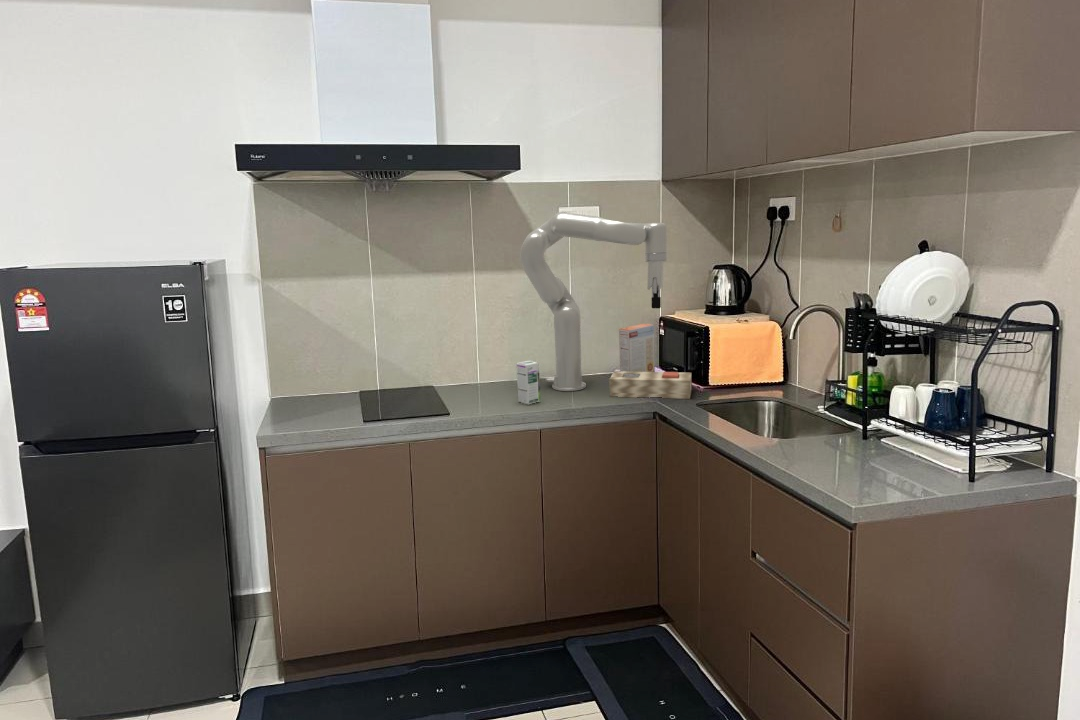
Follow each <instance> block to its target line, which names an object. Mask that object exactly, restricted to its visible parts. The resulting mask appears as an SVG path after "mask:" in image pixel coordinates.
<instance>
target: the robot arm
mask: <svg viewBox="0 0 1080 720" xmlns="http://www.w3.org/2000/svg"><path fill="white" fill-rule="evenodd" d="M565 237H566V238H573V239H581V240H590V241H595V242H604V243H605V242H607V243H613V244H622V245H629V246H639V245H641V244H643V243H644V244H645V245H644V246H645V251H644V252H645V257H644V258H645V263H647V285H646V286H647V291H648V290H649V291H650V290H651V308H652V309H661V308H662V297H661V289H662V288H663V284H664V263H666V262H667V252H668V251H667V224H666V223H664V222H648V223H643V222H642V223H640V222H623V221H617V220H612V219H611V220H610V219H606V218H604V217H602V216H596V215H595V216H594V215H586V214H579V213H573V212H572V213H571V212H566V211H559V212H557V213H556V214H554V215H553V216H552V217H550V218H549V219H548V220H546V221H544V223H542V224H541V225H539V226H538V227H536V228H535V229H533V230H532V231H531V232H530V233H529V234H527V236H526V237H525V239H524V241H523V243H522V244H521V246H520V250H519V262H520V265H521V267H522V269H523V271H524V273H525V275H526V276H527V278H528V279H529V281H530V283H531V285H532V286H533V288H534V290H535V291H536V292H537V294H538V296H539V298H540V300H541V301H542V302H544V304H546V306H548V308H549V310H550V311H551V312H552V314H553V325H554V347H555V348H554V349H555V352H554V353H555V375H553V376H551V375H546V376H545V377H544V379H545V380H544V381H545V382H547V383H552V388H553V389H554V390H556V391H561V392H574V391H581V390H583V389H585V388H586V387H587V384H586V382H584V381H583V380H582V379H583V378H582V377H583V375H582V343H581V342H582V341H581V311H580V307H579V305H578V304H577V302H576V301H575V299H574V298H573V296H572V295H571V293H570V291H569V290H568V288H567V286H566V285H565V284H564V282H563V280H562V279H560V278H559V277H557V276H555V274H554V273H553V271H552V270H551V268H550V266H549V265H548V263H547V262H546V260H545V257H544V253H546V251H547V250H548V249H549V248H550V247H552V246H553V245H555V244H556V243H557V242H559V241H560V240H562V239H563V238H565Z"/></svg>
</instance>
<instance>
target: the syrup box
mask: <svg viewBox="0 0 1080 720" xmlns="http://www.w3.org/2000/svg"><path fill="white" fill-rule="evenodd" d="M540 378H541V377H540V363H539V362H538V361H534V360H525V361H521V362H516V381H517V395H518V396H517V397H518V398H517V399H518V402H519V401H521V402H525V403H533V402H538V401H542V398H541V380H540Z"/></svg>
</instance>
